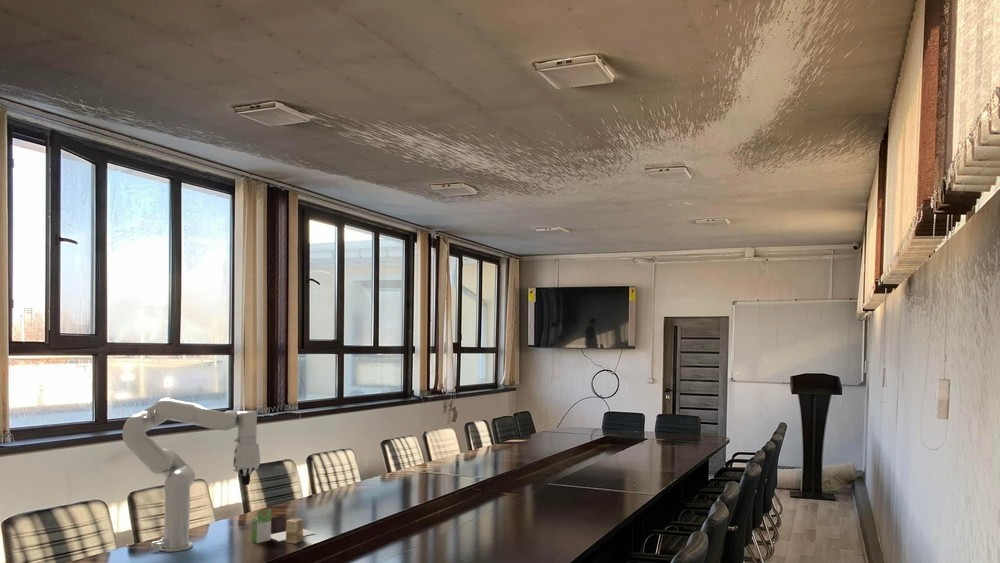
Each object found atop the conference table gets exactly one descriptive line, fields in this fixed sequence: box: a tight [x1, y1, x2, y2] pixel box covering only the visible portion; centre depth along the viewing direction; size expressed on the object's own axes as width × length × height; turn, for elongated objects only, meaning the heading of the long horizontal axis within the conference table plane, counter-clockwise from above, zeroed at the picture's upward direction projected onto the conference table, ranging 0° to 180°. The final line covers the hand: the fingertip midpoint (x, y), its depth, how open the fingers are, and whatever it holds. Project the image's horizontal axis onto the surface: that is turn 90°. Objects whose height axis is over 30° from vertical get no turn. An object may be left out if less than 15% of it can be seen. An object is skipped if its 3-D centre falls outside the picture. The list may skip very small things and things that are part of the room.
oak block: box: [285, 517, 304, 544], centre depth 320 cm, size 5×5×9 cm
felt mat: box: [271, 528, 316, 543], centre depth 329 cm, size 18×12×1 cm, turn 135°
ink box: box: [251, 508, 272, 544], centre depth 320 cm, size 7×4×13 cm, turn 141°
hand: (245, 484), depth 315 cm, fingers closed
